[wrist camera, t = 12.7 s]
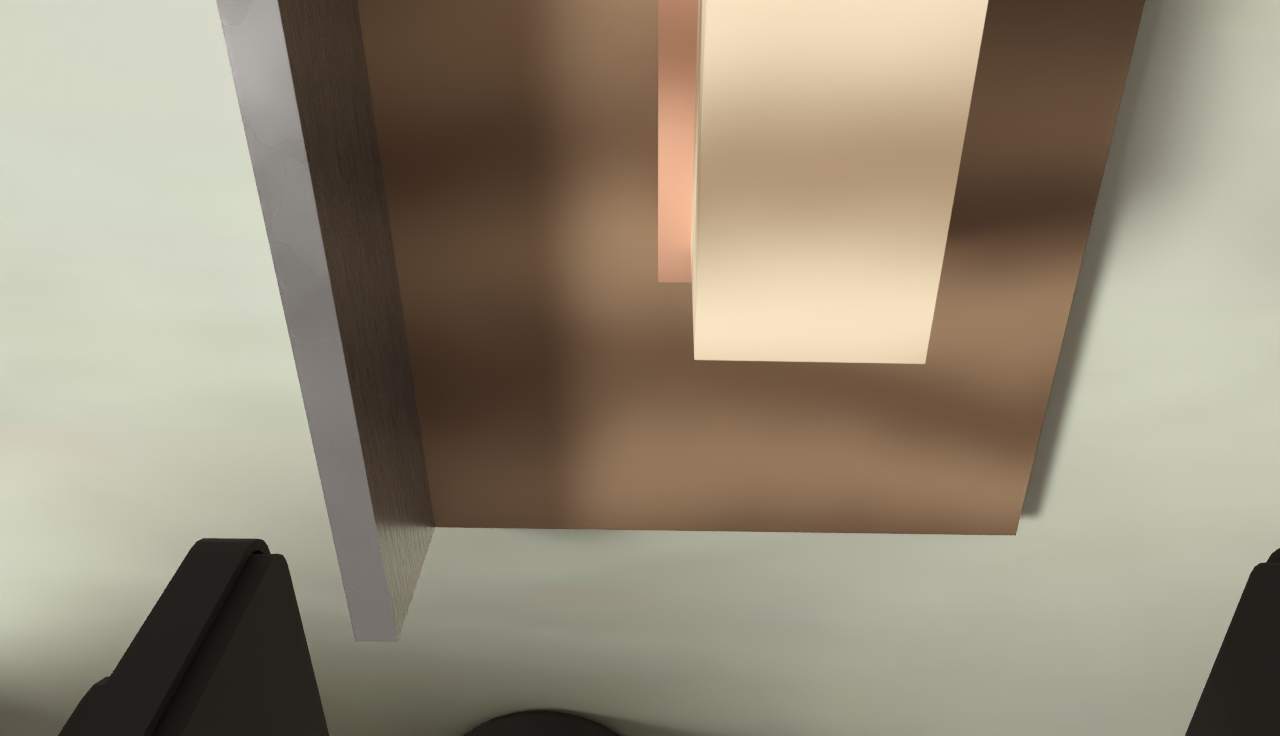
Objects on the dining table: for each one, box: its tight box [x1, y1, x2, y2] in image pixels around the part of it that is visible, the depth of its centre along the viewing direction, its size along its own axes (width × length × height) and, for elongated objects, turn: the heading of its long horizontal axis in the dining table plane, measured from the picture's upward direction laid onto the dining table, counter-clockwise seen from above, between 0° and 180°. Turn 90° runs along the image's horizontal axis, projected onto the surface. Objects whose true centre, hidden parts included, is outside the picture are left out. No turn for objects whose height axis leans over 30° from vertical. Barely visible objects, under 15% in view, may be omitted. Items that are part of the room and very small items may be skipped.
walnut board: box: [357, 0, 1145, 535], centre depth 26 cm, size 24×20×1 cm
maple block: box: [691, 0, 988, 364], centre depth 22 cm, size 9×5×6 cm, turn 0°
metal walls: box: [216, 0, 435, 641], centre depth 23 cm, size 24×20×5 cm
